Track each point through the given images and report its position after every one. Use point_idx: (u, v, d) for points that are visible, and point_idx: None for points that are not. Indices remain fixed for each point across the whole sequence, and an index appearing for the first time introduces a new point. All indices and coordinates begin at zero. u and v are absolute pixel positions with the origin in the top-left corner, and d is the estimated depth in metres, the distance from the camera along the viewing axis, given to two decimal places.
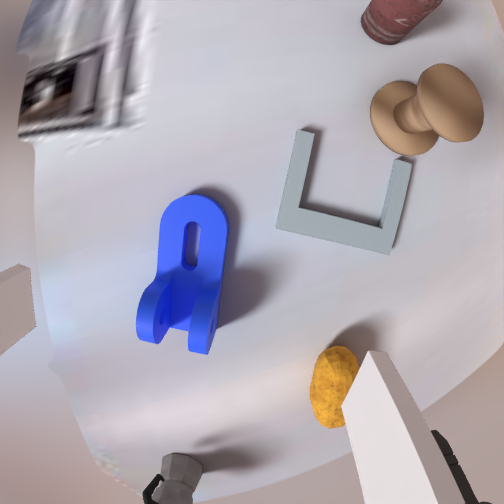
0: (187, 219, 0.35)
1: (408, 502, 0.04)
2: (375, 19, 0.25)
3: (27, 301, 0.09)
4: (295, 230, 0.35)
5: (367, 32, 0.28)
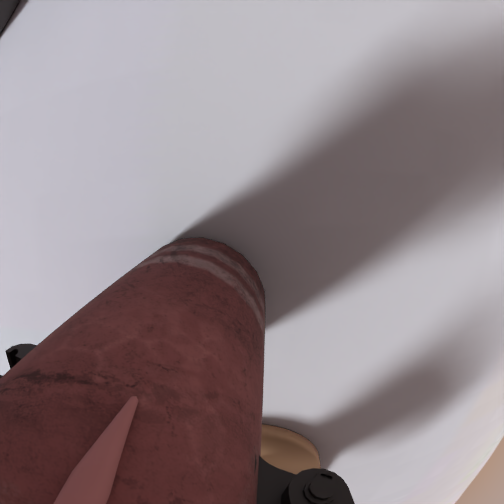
0: None
1: None
2: None
3: None
4: None
5: None
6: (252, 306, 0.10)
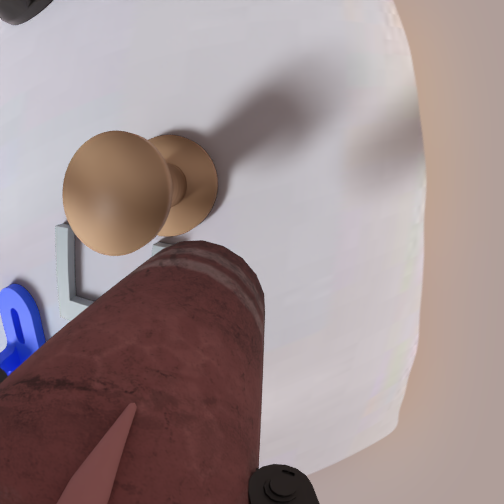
0: (10, 306, 0.32)
1: None
2: None
3: None
4: None
5: None
6: (251, 310, 0.10)
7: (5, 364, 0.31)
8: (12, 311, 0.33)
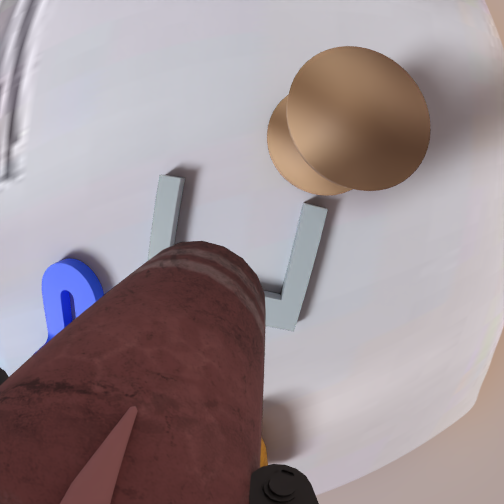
0: (61, 287, 0.28)
1: None
2: None
3: None
4: None
5: None
6: (252, 311, 0.10)
7: None
8: (62, 294, 0.29)
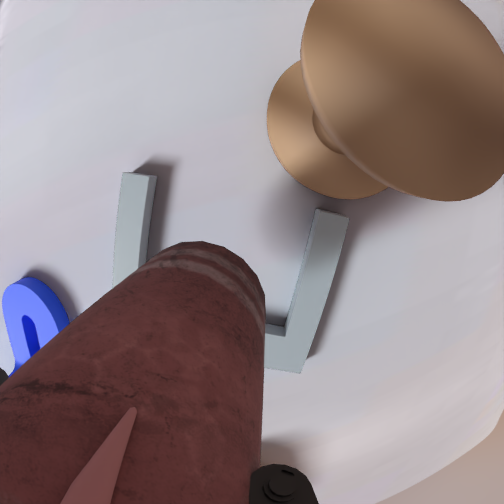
0: (21, 311, 0.21)
1: None
2: None
3: None
4: None
5: None
6: (252, 311, 0.10)
7: None
8: (24, 319, 0.22)
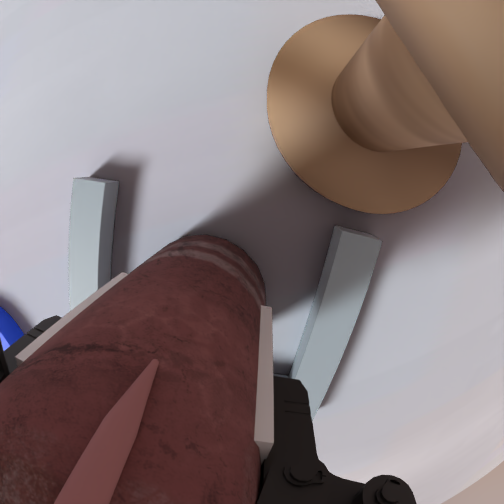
0: None
1: None
2: None
3: None
4: None
5: None
6: (253, 294, 0.11)
7: None
8: None
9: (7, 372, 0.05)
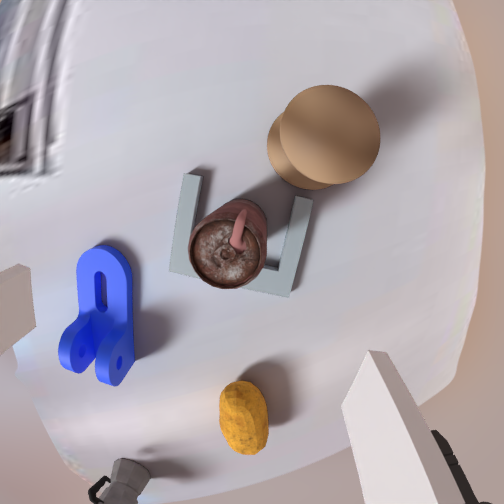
0: (95, 269, 0.36)
1: (408, 502, 0.04)
2: None
3: (27, 301, 0.09)
4: (186, 273, 0.36)
5: None
6: (262, 215, 0.31)
7: (79, 336, 0.35)
8: (95, 275, 0.37)
9: None
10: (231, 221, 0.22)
